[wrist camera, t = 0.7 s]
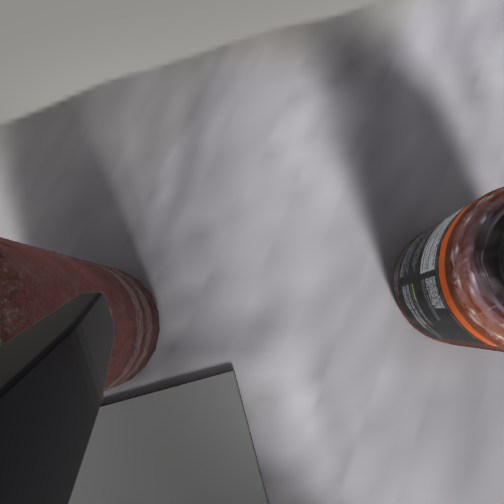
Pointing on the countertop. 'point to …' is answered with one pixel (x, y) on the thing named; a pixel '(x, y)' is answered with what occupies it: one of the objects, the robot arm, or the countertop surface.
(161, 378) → the countertop surface
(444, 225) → the supplement bottle
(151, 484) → the mat
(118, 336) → the can
